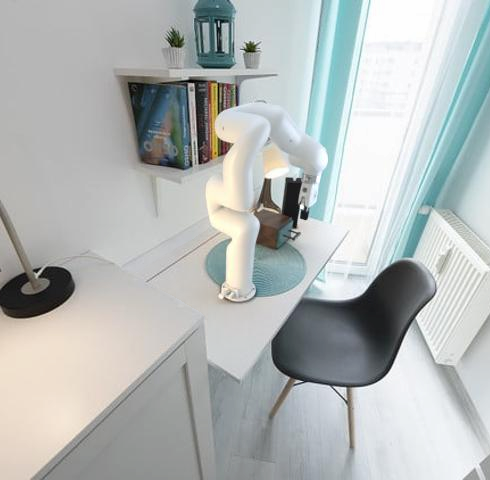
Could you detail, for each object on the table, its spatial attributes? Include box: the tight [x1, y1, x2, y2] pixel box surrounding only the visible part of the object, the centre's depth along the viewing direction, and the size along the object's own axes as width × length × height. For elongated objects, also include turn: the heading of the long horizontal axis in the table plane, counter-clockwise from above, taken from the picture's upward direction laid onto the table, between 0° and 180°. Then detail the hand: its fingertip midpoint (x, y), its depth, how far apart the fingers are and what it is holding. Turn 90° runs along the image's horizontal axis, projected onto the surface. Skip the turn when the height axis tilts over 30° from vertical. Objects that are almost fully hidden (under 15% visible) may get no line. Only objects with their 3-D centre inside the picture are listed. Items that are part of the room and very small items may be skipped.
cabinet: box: [253, 208, 292, 250], centre depth 138 cm, size 16×15×11 cm
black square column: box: [280, 172, 302, 229], centre depth 147 cm, size 8×8×28 cm
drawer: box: [276, 220, 302, 249], centre depth 136 cm, size 20×14×9 cm, turn 57°
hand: (303, 218), depth 125 cm, fingers closed
